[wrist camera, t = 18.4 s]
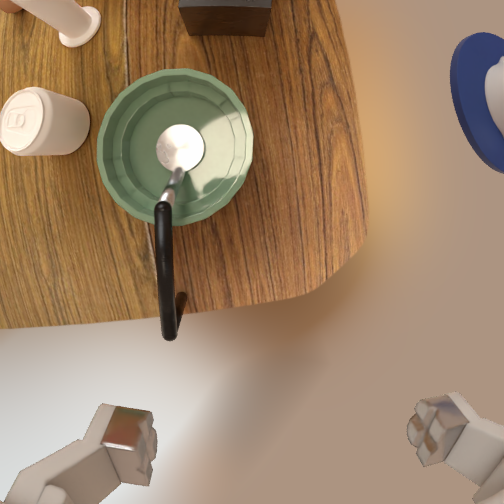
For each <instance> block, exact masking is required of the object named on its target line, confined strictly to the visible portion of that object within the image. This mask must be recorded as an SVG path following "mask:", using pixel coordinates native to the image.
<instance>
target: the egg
mask: <svg viewBox="0 0 504 504" xmlns="http://www.w3.org/2000/svg"><path fill="white" fill-rule="evenodd" d="M0 8H1V10H3V11H4V12H6V13H15V12H18V11H20V10H21V9H23V8H22V7H20V6H19V5H17V4H15V3H14V2H12V1H10V0H0Z"/></svg>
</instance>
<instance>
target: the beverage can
mask: <svg viewBox="0 0 504 504" xmlns="http://www.w3.org/2000/svg"><path fill="white" fill-rule="evenodd" d="M89 127H90V117H89V113H88V110H87V108H86V107H85V105H84V104H83V103H82V102H80V101H79V100H76V99H73V98H70V97H67V96H64V95H61V94H58V93H55V92H52V91H49V90H46V89H42V88H39V87H29V88H26V89H23V90H20V91H18V92H16V93H15V94H13V95H12V96H11V97H10V98H9V99H8V100H7V102H6V103H5V105H4V107H3V109H2V111H1V114H0V141H1V143H2V144H3V146H4V147H5V148H6V149H8V150H9V151H10V152H12V153H13V154H15V155H19V156H34V155H67V154H70V153H72V152H74V151H75V150H77V149H78V148H79V147H80V146H81V145H82V144H83V142H84V141H85V139H86V137H87V134H88V131H89Z"/></svg>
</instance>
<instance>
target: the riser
mask: <svg viewBox="0 0 504 504" xmlns="http://www.w3.org/2000/svg"><path fill="white" fill-rule="evenodd" d="M271 5H272V0H179V6H178V8H179V10H180V13H181V16H182V18H183V21H184V23H185V26H186V29H187V31H188V34H189V36H195V35H239V36H261V37H265V33H266V28H267V24H268V20H269V16H270V12H271Z"/></svg>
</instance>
